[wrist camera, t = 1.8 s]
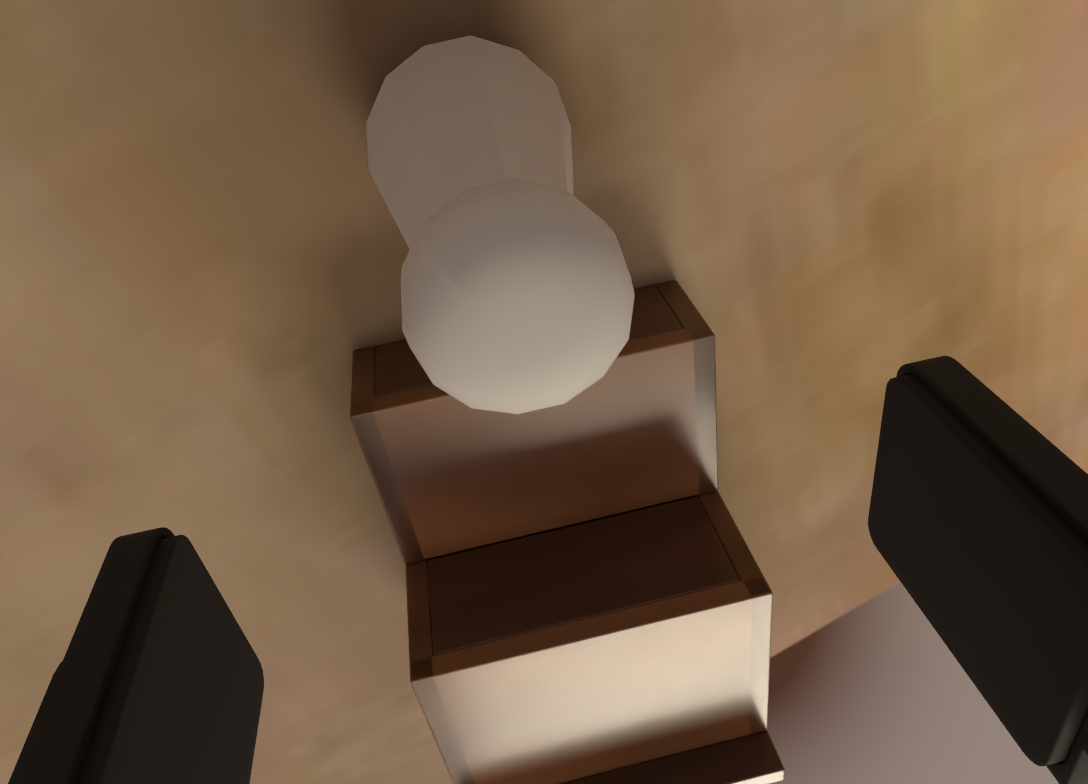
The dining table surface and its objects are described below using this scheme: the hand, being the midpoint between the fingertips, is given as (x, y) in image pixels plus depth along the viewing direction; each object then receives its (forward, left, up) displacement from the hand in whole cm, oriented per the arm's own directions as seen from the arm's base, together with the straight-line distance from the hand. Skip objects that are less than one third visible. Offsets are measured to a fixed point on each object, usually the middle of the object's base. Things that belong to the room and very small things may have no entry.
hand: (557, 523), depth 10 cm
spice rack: (+14, +1, -17) cm, 22 cm away
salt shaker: (-1, 0, -17) cm, 17 cm away
